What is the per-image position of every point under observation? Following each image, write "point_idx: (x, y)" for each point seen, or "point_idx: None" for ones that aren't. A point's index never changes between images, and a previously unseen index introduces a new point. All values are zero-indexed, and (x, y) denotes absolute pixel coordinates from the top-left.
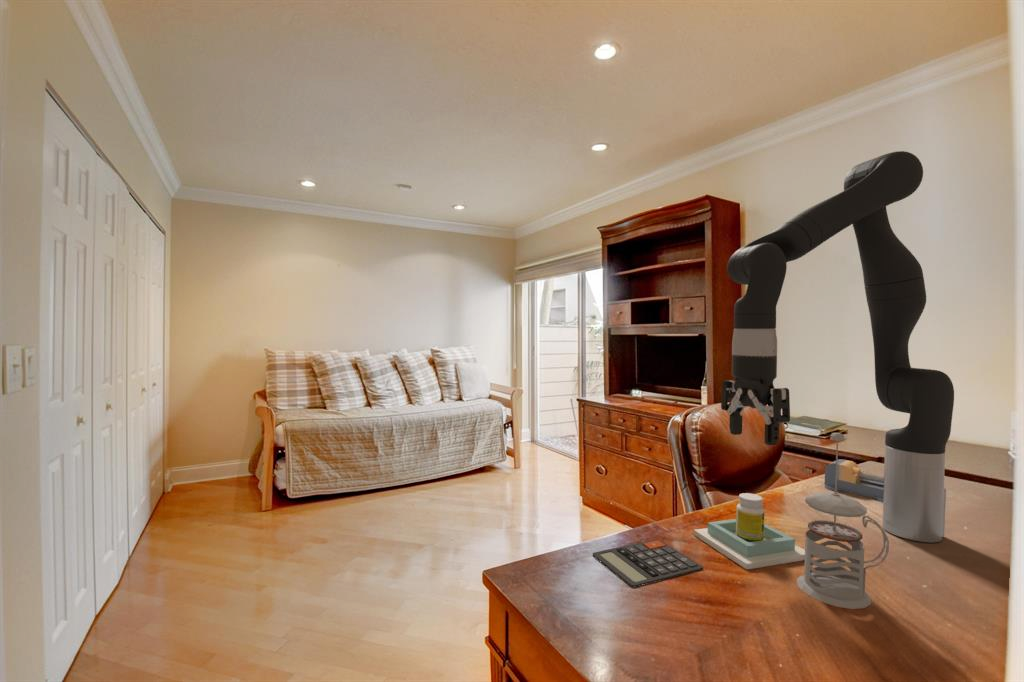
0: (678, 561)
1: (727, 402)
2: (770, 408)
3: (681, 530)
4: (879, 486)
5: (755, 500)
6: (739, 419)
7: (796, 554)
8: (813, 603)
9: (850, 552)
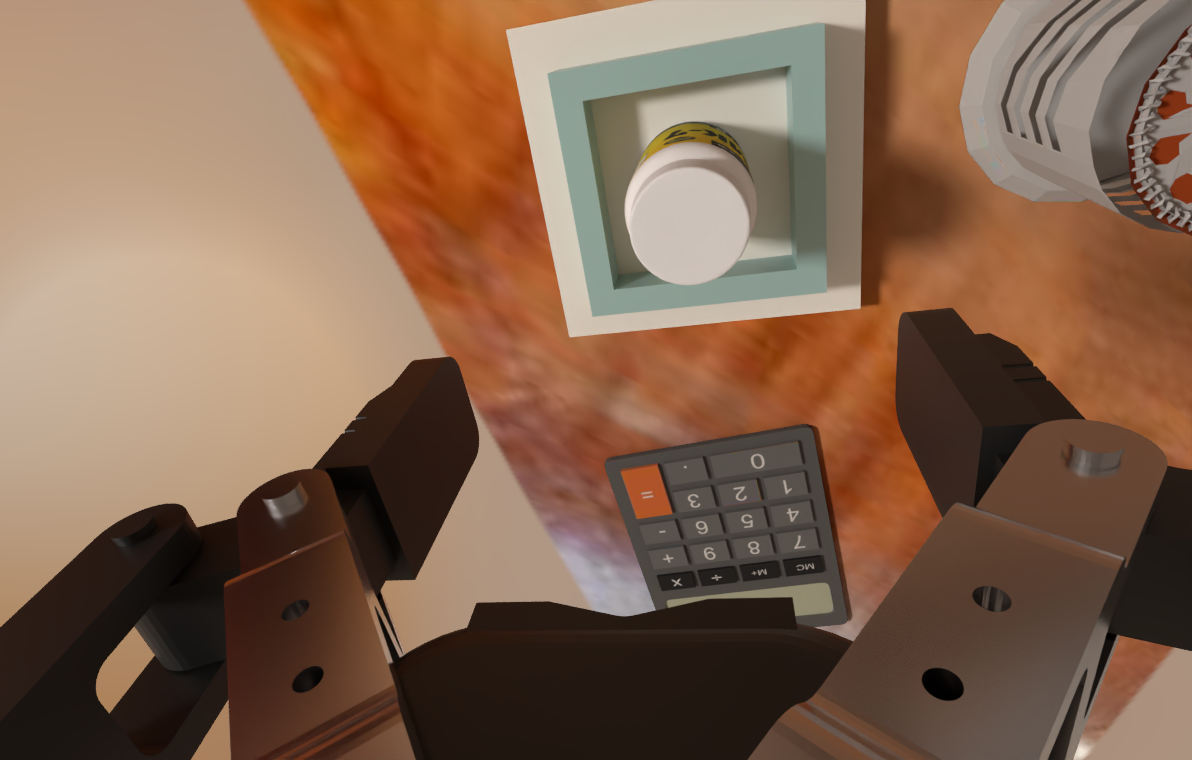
0: (766, 480)
1: (196, 700)
2: (1088, 699)
3: (532, 351)
4: None
5: (745, 239)
6: (400, 469)
7: (854, 48)
8: (1120, 222)
9: None
